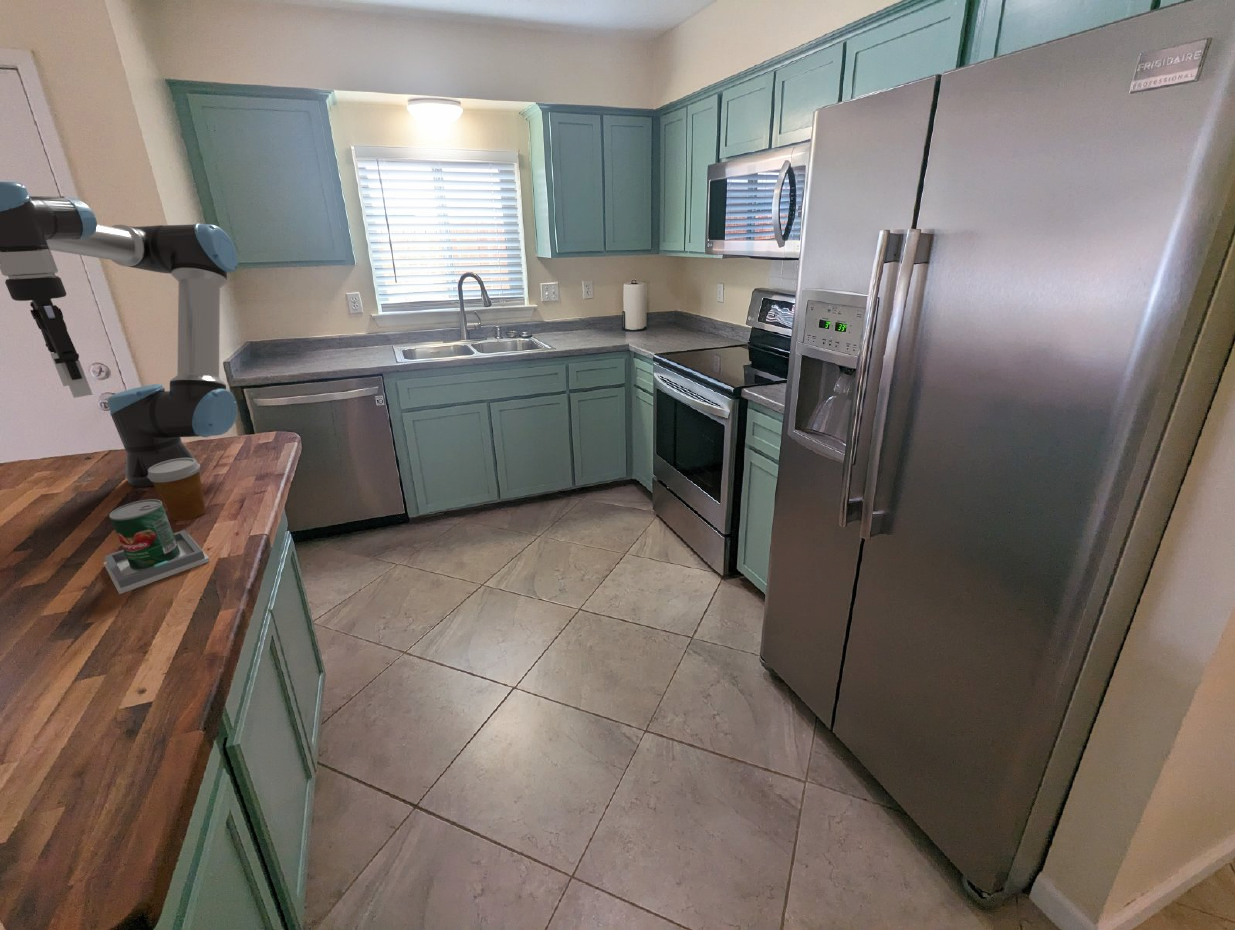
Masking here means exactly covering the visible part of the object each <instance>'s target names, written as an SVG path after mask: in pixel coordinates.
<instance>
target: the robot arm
mask: <svg viewBox="0 0 1235 930" xmlns="http://www.w3.org/2000/svg"><path fill="white" fill-rule="evenodd" d="M52 251H55V252H61V253H66V254H73V255H79V256H86V257H91V258H97V259H104V260H110V261H112V262H113V263H115V264H117V265H118V266H122V267H129V268H133V269H138V270H143V271H149V272H154V273H160V274H170V275H171V276H172V277H173V278H174V279H175V280H176V281H177V283H178V296H177V297H178V300H177V301H178V305H177V306H178V307H177V311H178V312H177V315H178V317H177V375H175V376H174V377H173V378H172V379H170V380H169V391H168V390H167V391H166V389H165V387H164V386H163V384H159V383H157V384H156V383H154V384H148V385H142V386H138V387H134V388H130V389H127V390H123V391H120V392H117V393H114V394H113V395H111V396H110V397H109V398H108V399H107V406H108V409H109V414H110V416H111V418H112V421H113V423H114V426H115V428H116V430H117V433H118V436H119V438H120V441H121V444H122V446H123V448H124V451H125V454H126V458H125V459H126V460H125V462H126V463H125V478H126V479H127V482H128V485H130V486H133V487H138V488H142V487H143V488H145V487H155V486H154V484H153V482H152V481H150V479H148V478H147V475H148V469H149V468H150V467H152V466H153V465H155V464H158V463H160V462H164V461H167V460H172V459H177V458H194V459H195V460H196V461H197V458H196V457H195V456H194V455H193V454H192V453H191V451H190V449H189V448H188V447H187V446H186V445H185V443H183V441H182V439H181V438H192V437H193V438H196V437H201V438H209V437H216V436H222V435H224V434H226V433H228V432H229V431H230V430H231V429H232V428H233V426H234V424H236V423H235V422H236V419H237V416H238V404H237V403H238V402H237V401H235V399H236V397H235V396H234V394H233V393H232V392H231V391H229V390H227V384H226V383H225V382H224V381H223V380H221V378H220V323H221V322H220V319H221V318H220V315H221V313H220V310H221V308H220V307H221V306H220V305H221V300H220V299H221V298H220V297H221V296H220V295H221V288H222V287H223V286H225V285H226V284H227V283H228V274H231V273H233V272H235V271H236V269H237V268H238V266H239V257H238V252H237V250H236V247H235V245H234V243H233V241H232V239H231V238H230V236H229V234H227V233H226V231H225V230H223V229H222V228H221V227H219V226H218V225H215V224H210V223H208V224H207V223H204V224H203V223H195V224H174V225H173V224H172V225H171V224H169V225H168V224H167V225H164V224H162V225H161V224H159V225H146V226H145V225H143V226H142V225H141V226H129V225H125V224H114V225H111V226H110V225H105V224H102V223H98V220H97V217H96V215H95V213H94V211H93V210H92V209H91V207H90V206H88V204H86V203H85V202H83V201H82V200H80V199H77V198H74V197H66V196H31V194H29V192H28V190H27V188H26V186H25V185H24V184H22V183H21V182H14V181H0V273H1V275H3V276H4V277H8V278H7V279H5V281H4V283H5V285H6V286H5V287H6V288H7V290H8V293H9V295H10V297H11V299H12V300H14V301H17V302H27V301H31V302H30V307H31V308H32V309H30V310H29V311H30V314H31V317H32V318H33V320H35V323H36V326H37V327H38V329H39V330H40V331H41V334H42V337H43V340H44V343H45V347H46V348H47V350H48V351H49V353H50V357H51V359H52V361H53V364H54V366H55V370H56V371H57V374H58V376H59V380H60V381H61V383H62V386H63V387H69V389H70V392H71V395H72V397H73V398H74V399H75V398H79V397H80V398H81V397H85V396H87V397H88V396H91V395H93V392H92V389H91V386H90V384H89V382H88V380H87V377H86V375H85V372H84V371H85V370H84V368H83V367H82V364H81V362H80V359H79V358H80V354H79V353H78V352H77V350H76V347H75V346H74V344H73V340H72V338H71V336H70V334H69V331H68V326H67V324H66V322H65V320H64V315H63V311H62V309H61V308H59V306H57V305H56V304H55V305H54V303H53V301H52V299H61V298H65V297H66V296H67V292H66V291H67V290H66V289H65V286H64V283H63V281H62V279H61V277H59V276H58V275H56V273H58V272H59V269H58V267H57V264H56V261H55V259H54V256H53V254H52ZM197 462H198V461H197Z"/></svg>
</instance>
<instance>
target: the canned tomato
mask: <svg viewBox="0 0 1235 930" xmlns="http://www.w3.org/2000/svg"><path fill="white" fill-rule="evenodd" d="M108 516H109V519H110V521H111V523H112V526H113V528H114V532H115V534H116V535H117V539H118V541H119V543H120V545H121V549H122V550H124V553H125V555H126V557H127V560H128V562H129V565H130V568H131V569H132V570H135V571H141V570H144V569H147V568H149V567H152V566H154V565H156V564H159V563H161V562H164V561H169V560H172V559H175V558H178V556H179V555H180V550H179V548H178V545H177V542H176V539H175V536H174V534H173V533H174V531H173V528H172V526H171V524H170V521H169V518H168V515H167V513H166V510H165V507H164V505H163V500H160V499H156V498H155V499H154V498H150V499H149V498H148V499H142V500H141V499H140V500H137V501H133V502H130V503H127V504H124V505H122V506H119V507H117V508H116V509H113V510H112V511H111V512H110V513H109V515H108Z"/></svg>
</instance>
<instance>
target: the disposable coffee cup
mask: <svg viewBox="0 0 1235 930" xmlns="http://www.w3.org/2000/svg"><path fill="white" fill-rule="evenodd" d="M195 459H196V458H195ZM195 459H194V458H177V459H172V460H167V461H164V462H160V463H158V464H155V465H153V466H152V467H150V468H149V469H148V475H147V478H148V479H150V481H152V482H153V484H154V486H153V487H154V488H155V490H156V491H157V493H158V494H159V496H160V498H161V501H162V503H164V505H165V507H166V509H167V511H168V513H169V515H170V516H171V517H172V520H174V521H186V520H192V519H195V518H198V517H200V516H201V515H202V516H203V514H205V513H206V511H207V508H206V504H205V497H204V490H203V486H202V480H201V472H200V470H201V469H200V468H201V464H200V463H199V462H198V461H196V460H197V459H196V460H195Z"/></svg>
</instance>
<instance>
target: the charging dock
mask: <svg viewBox="0 0 1235 930" xmlns="http://www.w3.org/2000/svg"><path fill="white" fill-rule="evenodd" d="M173 534H174V536H175V539H176V542H177V545H178V548H179V550H180V555H179V556H178V558H175V559H172V560H169V561H164V562H161V563H159V564H156V565H154V566H152V567H149V568H147V569H144V570H141V571H135V570H132V569H131V568H130V565H129V562H128V560H127V557H126V555H125V553H124V550H123V549H120V550H119V551H115V552H112V553H108V554H105V555H104V559H105V561H104V562H103V566H104V567H105V570H106V572H107V573H108V575H109V577H110V579H111V581H112V583H113V585H114V587H115V589H116V590H117V592H118V594H119V595H122V594H125V593H128V592H130V591H133V590H135V589H138V588H141V587H144V586H146V585H149V584H152V583H154V582H157V581H159V580H162V579H165V578H168V577H170V576H171V577H172V576H173V575H176V574H179V573H182V572H185V571H187V570H190V569H192V568H195V567H198V566H201V565H205V564H206V563H209V562H211V561H210V558H209V556H208V555H207V554H206V553H205V552H204V550H203V549H202V548H201V547H200V546H199V545H198V544H197V542H196V541H195V540H194V539H193V538H192V537H191V535H190V534H188V532H187V531H186V530H185V529H182V530H179V531H177V532H173Z"/></svg>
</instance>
